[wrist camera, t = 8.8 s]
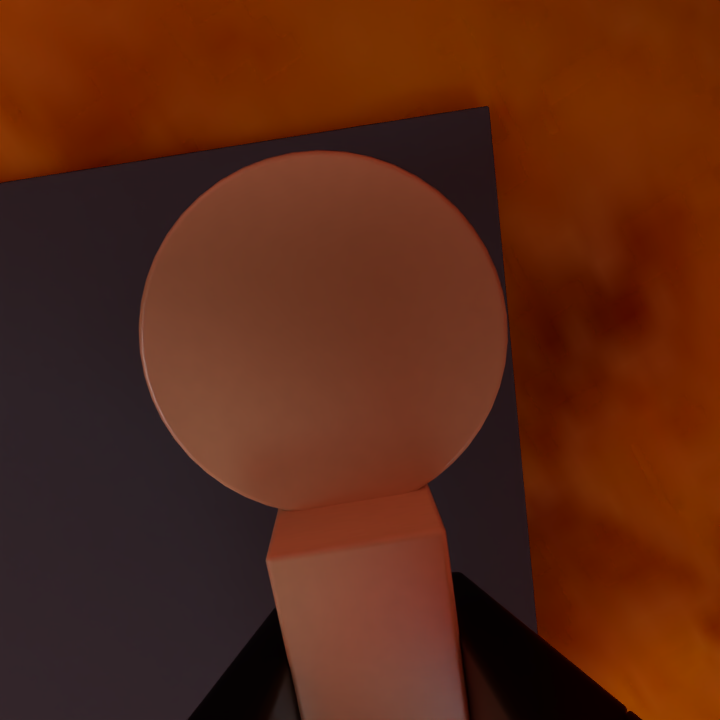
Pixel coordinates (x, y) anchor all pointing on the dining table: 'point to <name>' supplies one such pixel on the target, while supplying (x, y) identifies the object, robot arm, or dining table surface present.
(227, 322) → the wooden spoon
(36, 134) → the dining table surface
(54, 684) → the placemat
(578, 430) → the dining table surface
